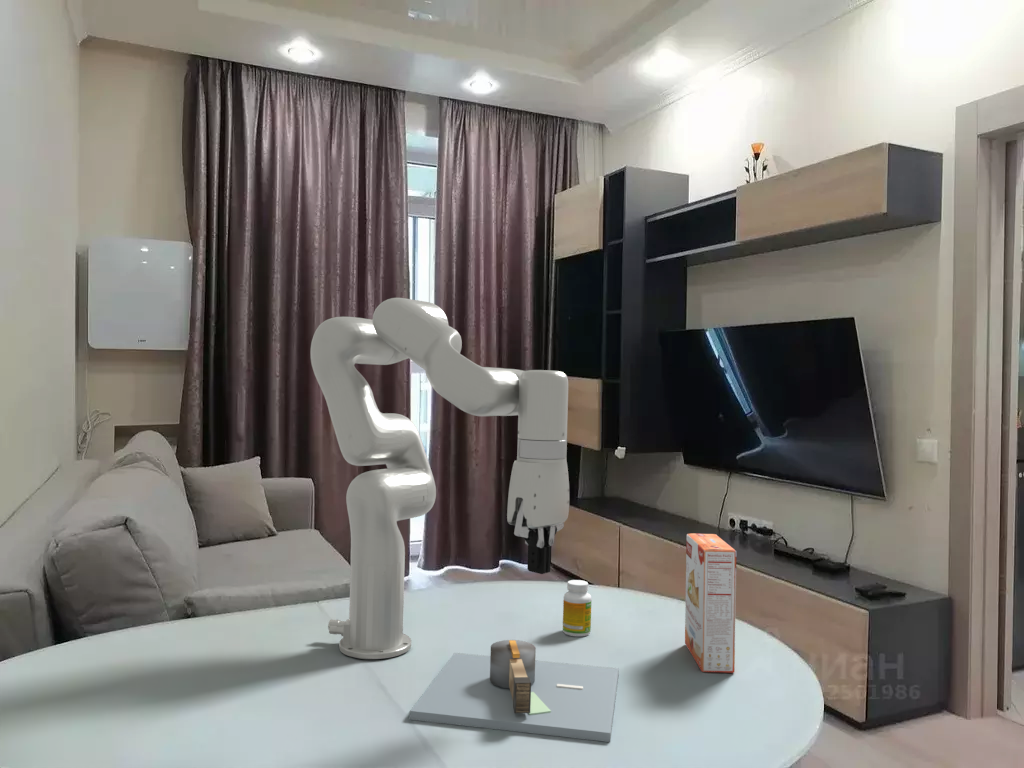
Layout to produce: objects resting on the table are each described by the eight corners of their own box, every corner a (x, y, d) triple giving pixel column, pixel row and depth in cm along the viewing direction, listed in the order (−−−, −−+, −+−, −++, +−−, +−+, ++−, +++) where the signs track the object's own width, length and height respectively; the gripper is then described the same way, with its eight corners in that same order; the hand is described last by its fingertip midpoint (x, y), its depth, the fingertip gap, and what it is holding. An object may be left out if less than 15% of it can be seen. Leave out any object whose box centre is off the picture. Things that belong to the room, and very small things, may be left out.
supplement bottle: (589, 638, 143) (590, 586, 143) (560, 635, 144) (562, 584, 144) (591, 629, 148) (593, 579, 148) (564, 627, 149) (565, 577, 149)
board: (409, 719, 106) (409, 709, 106) (454, 659, 130) (454, 651, 130) (610, 742, 101) (610, 731, 101) (618, 675, 125) (618, 666, 125)
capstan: (488, 671, 121) (489, 636, 121) (531, 670, 122) (532, 636, 122) (497, 716, 104) (498, 675, 104) (547, 715, 105) (548, 675, 105)
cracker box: (682, 644, 141) (685, 532, 141) (715, 645, 141) (717, 533, 141) (699, 673, 127) (702, 548, 127) (735, 674, 126) (738, 549, 127)
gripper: (552, 447, 123) (549, 559, 123) (490, 451, 112) (487, 575, 112) (590, 450, 118) (587, 568, 118) (529, 455, 107) (526, 585, 107)
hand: (538, 571), depth 115 cm, fingers closed
